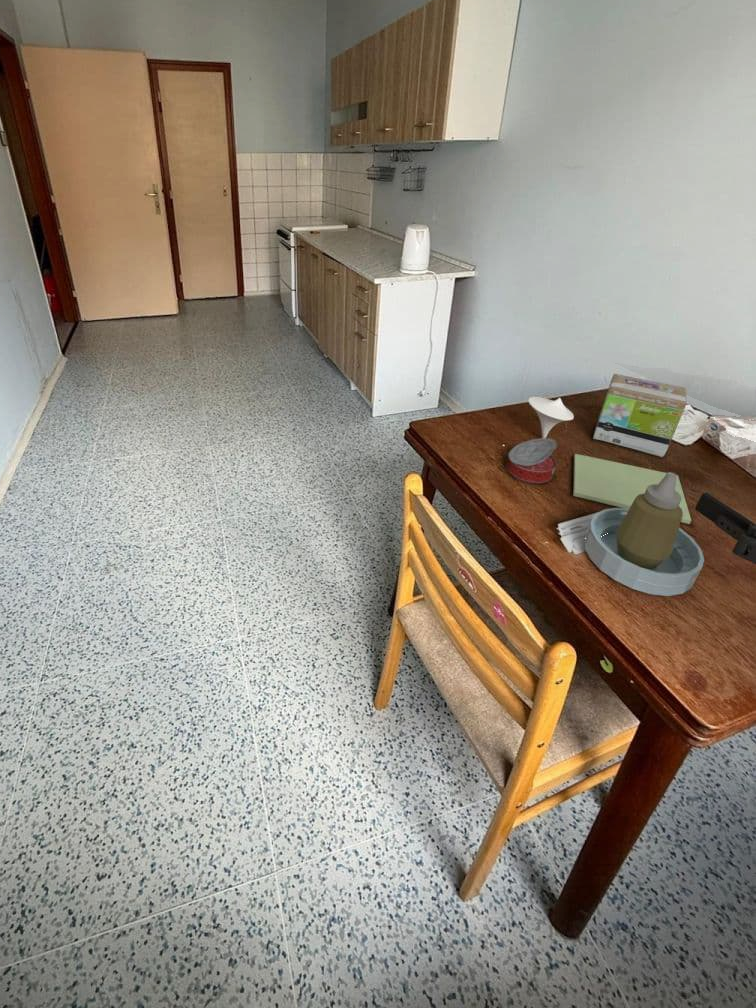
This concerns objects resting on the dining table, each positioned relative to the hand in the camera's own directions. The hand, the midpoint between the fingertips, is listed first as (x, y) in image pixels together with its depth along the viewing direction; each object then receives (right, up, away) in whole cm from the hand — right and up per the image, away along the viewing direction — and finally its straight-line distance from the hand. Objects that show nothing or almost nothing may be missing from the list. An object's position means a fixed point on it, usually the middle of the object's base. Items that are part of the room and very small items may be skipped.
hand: (742, 493), depth 64 cm
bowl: (-1, -15, +19) cm, 24 cm away
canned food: (-9, -3, +43) cm, 44 cm away
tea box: (+21, +4, +53) cm, 57 cm away
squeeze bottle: (-1, -15, +18) cm, 24 cm away
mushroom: (0, +3, +54) cm, 54 cm away
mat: (+9, -5, +37) cm, 38 cm away
